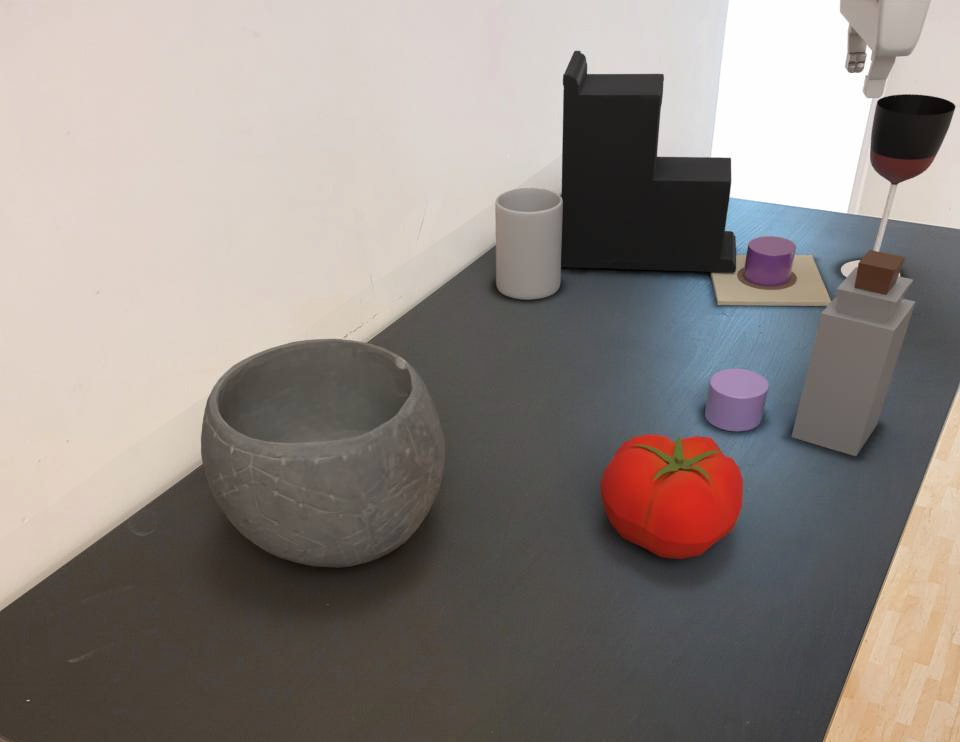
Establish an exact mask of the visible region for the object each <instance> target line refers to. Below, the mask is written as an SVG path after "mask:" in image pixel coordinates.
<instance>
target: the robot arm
mask: <svg viewBox="0 0 960 742" xmlns="http://www.w3.org/2000/svg"><path fill="white" fill-rule="evenodd" d="M931 1H932V0H839V13H840V14H841V15H842V17H843V18H844V19H845V20H846V21H847V23H848V28H847V51H846V59H845V63H844V68H845V70H846V71H847V72H848V74H849V73H850V74H854V73H856V74H859V73H861V72H864V69H865V65H866V60H867V55H868V54H867V52H866V51H867V47H868V48H869V50H871V56H870V61H871V62H870V66H869V69H868V73H867V75H865V77H864V82H863V87H862V93H863V95H864V96H865V98H867V99H880V98H882V96H883V94H884V91H885V87H886V84H887V83H886V82H887V79H888V77H889V75H890V73H891V71H892V69H893V67H894V65H895V62H896V59H897V58H898V57H908V56H910V55H912V53H913V51H915V48H916V46H917V45H918V42H919V40H920V38H921V34H922V31H923V29H924V25H925V21H926V18H927V15H928V11H929V7H930V5H931Z"/></svg>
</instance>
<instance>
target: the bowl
mask: <svg viewBox="0 0 960 742" xmlns="http://www.w3.org/2000/svg"><path fill="white" fill-rule="evenodd" d="M446 448H447V447H446V442H445V437H444V432H443V428H442V424H441V420H440V417H439V412H438V409H437V407H436V405H435V403H434V401H433V398H432V396H431V392H430V391H429V389H428V387H427V385H426V384H425V382H424V380H423V378H422V377H421V375H420V374H419V373H418V371H417V370H416V368H414V367H413V366H412V365H411V364H410V363H409V362H408V361H407V360H405V359H404V358H403V357H401V356H400V355H399V354H397V353H395V352H393V351H391V350H389V349H387V348H385V347H382V346H379V345H376V344H373V343H368V342H363V341H358V340H351V339H343V338H342V339H341V338H317V339H316V338H315V339H305V340H297V341H292V342H288V343H284V344H281V345H277V346H274V347H270V348H266V349H265V350H261V351H260V352H257V353H255V354H252V355H249V356H248V357H246V358H244V359H241V360H240V361H238V362H237V363H235V364H233V365H232V366H231V367H230V368H229V369H228V370H227V371H225V372H224V373H223V374H222V375H221V376H220V377H219V378H218V380H217V381H216V383H214V385H213V387H212V389H211V391H210V393H209V395H208V397H207V400H206V403H205V408H204V412H203V418H202V424H201V434H200V455H201V462H202V467H203V472H204V475H205V479H206V482H207V485H208V487H209V489H210V491H211V494H212V496H213V498H214V500H215V502H216V504H217V505H218V506H219V508H220V510H221V511H222V512H223V514H224V515H225V517H226V518H227V520H228V521H229V522H230V524H232V526H234V528H235V529H236V530H237V531H238V532H239V533H240V534H241V535H242V536H243V537H245V538H246V539H247V540H249V541H250V542H251V543H252V544H254V546H257V547H258V548H260V549H262V550H263V551H265V552H267V553H268V554H270V555H272V556H275V557H278V558H280V559H283V560H287V561H290V562H293V563H297V564H300V565H304V566H310V567H319V568H321V567H322V568H338V569H339V568H348V567H349V568H350V567H355V566H359V565H362V564H366V563H370V562H373V561H375V560H379V559H380V558H382V557H384V556H387V555H389V554H391V553H392V552H394V551H396V550H397V549H398V548H399V547H400V546H402V545H404V544H405V543H406V542H407V541H409V539H410V538H411V537H412V536H413V534H415V533H416V532H417V530H418V529H419V527H420V525H421V524H422V523H423V522H424V520H425V519H426V517H427V516H428V514H429V512H430V510H431V509H432V506H433V505H434V503H435V501H436V498H437V497H438V494H439V492H440V488H441V484H442V481H443V477H444V474H443V473H444V470H445V462H446V450H447V449H446Z"/></svg>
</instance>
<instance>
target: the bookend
mask: <svg viewBox="0 0 960 742" xmlns="http://www.w3.org/2000/svg"><path fill="white" fill-rule="evenodd" d="M664 82H665V75H664V73H588V63H587V57H586V55H585V54H584V53H582V51H581V50H574V51H573V53H572V55H571V57H570V59H569V62H568V65H567V67H566V69H565V71H564V73H563V75H562V86H563V92H562V94H563V95H562V96H563V97H562V98H563V99H562V143H561V144H562V145H561V147H562V149H561V195H560V196H561V198H562V200H563V215H562V245H561V268H575V269H577V268H580V269H612V270H613V269H615V270H638V271H639V270H643V271H666V272H667V271H676V272H704V273H705V272H707V273H710V272H735V271H736V255H737V244H736V243H737V239H736V238H737V237H736V235H735V233H734V231H731V230H726V226H727V219H728V211H729V204H730V196H731V189H732V158H731V157H716V156H715V157H713V156H712V157H709V156H703V157H702V156H701V157H700V156H658V148H659V137H660V135H659V134H660V125H661V124H660V123H661V110H662V105H663V97H664V96H663V95H664Z"/></svg>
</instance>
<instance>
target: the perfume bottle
mask: <svg viewBox="0 0 960 742" xmlns="http://www.w3.org/2000/svg"><path fill="white" fill-rule="evenodd" d="M860 260H861V261H860V262H859V263H858V267H855V269H854V270H853V271H852V272H851V273H850V274H849V275H848V277H846V278H845V279H844V280H843V281H842V282H841V283H840V284H839V286H837V288H836V296H835V297H834V298H833V299H832V300H831V303H830V304H829V305H828V306H825V309H823V311H822V312H821V313H820V317H819V322H818V326H817V329H816V334H815V338H814V342H813V348H812V350H811V355H810V357H809V358H810V359H809V362H808V367H807V370H806V376H805V379H804V383H803V387H802V392H801V396H800V400H799V403H798V407H797V408H798V409H797V412H796V417H795V421H794V425H793V429H792V434H791V438H793V439H796V440H800V441H802V442H806V443H810V444H813V445H815V446H816V445H817V446H820V447H823V448H827V449H829V450H833V451H836V452H839V453H842V454H843V453H844V454H846V455H849V456H853V457H857V455H859V453H860V451H861V450H862V449H863V447H864V446H865V444H866V442H867V441H868V440H869V438H870V436H871V435H872V433H873V432H874V430H875V429H876V427H877V426H878V422H879V419H880V417H881V415H882V414H881V413H882V410H883V407H884V403H885V401H886V398H887V394H888V391H889V389H890V385H891V381H892V379H893V375H894V372H895V369H896V366H897V362H898V359H899V356H900V353H901V350H902V346H903V344H904V340H905V337H906V334H907V330H908V327H909V324H910V321H911V318H912V315H913V311H914V308H915V305H916V301H915V300H911V299H906V298H904V297H906V294H907V292H908V290H909V288H910V287H911V285H912V283H913V281H914V279H913V278H907V277H903V276H900V277H899V276H898V275H899V273H900V274H901V271H902V267H903V265H904V263H905V260H906V257H905V256H902V255H897V254H893V253H886V252H883V251H882V252H881V251H879V252H878V251H873V249H869V250H868V252H867V253H865V255H864V256H863V257H862V258H861V259H860Z"/></svg>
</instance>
